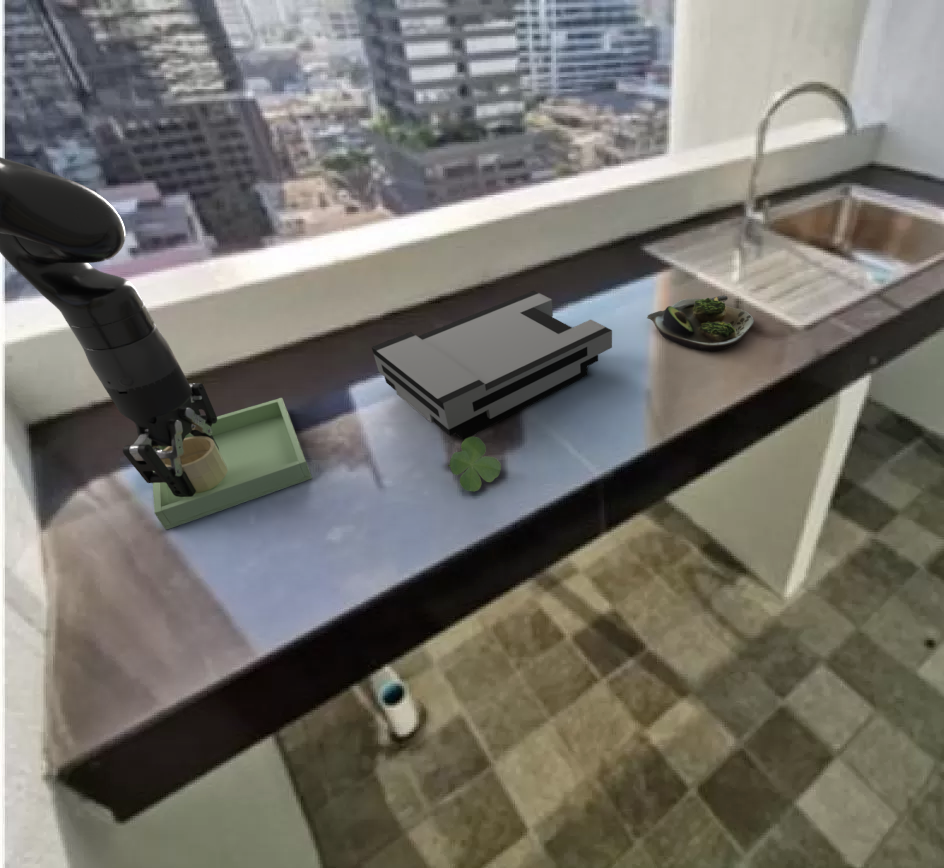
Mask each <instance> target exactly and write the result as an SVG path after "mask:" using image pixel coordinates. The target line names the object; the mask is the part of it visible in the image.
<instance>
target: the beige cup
mask: <svg viewBox="0 0 944 868" xmlns="http://www.w3.org/2000/svg"><path fill="white" fill-rule="evenodd" d="M183 449H184V455H183V456H182V457H181V463H182V470H183V471H185V473H186V475H187V476H188V478H189V480H190V481H191V483H192V485H193V486H194V488H195V490H196V492H195V494H196V493H201V492H205V491H207V490H210V489H212V488H214V487H215V486H217V485H218V484H219V483H220V482H221V481H222V480H223V478H224V477H225V476H226V474H227V471H228V469H227V465H226V463H225V461H224V459H223V457H222V455H221V454H220V452H219V450H218V448H217V446H216V444H215V442H214V440H212V439H211V438H209V437H206V436H193V437H188V438H184V440H183ZM163 451H172V446H168V447H167V448H165V449H164V450H163ZM165 464H166V467H171V461H170V459H168V458H165Z"/></svg>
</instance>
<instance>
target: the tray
mask: <svg viewBox="0 0 944 868" xmlns="http://www.w3.org/2000/svg"><path fill="white" fill-rule="evenodd" d="M211 427H212V429H213V434H212V436H213V438H214V440H215V442H216V444H217V446H218V448H219V451H220V453H221V455H222V457H223V459H224V461H225V463H226V465H227V469H228V471H227V474H226V476H225V477H224V478H223V480H222V481H221V482H220V483H219V484H218V485H217V486H215V487H214V488H212V489H210V490H207V491H205V492H201V493H196V494H194V495H193V496H192V497H178V496H175V495H173V493H172V491H171V490H170V488H169V487H168V485H167V483H152V494H153V495H152V497H153V510H154V511H153V513H154V515H155V516H156V518H157V519H158V521H159V522H160V523H161V525H162V527H163V528H164V530H165V531H168V530H170V529H173V528H176V527H178V526H182V525H185V524H188V523H190V522H193V521H197V520H198V519H201V518H204V517H207V516H211V515H213V514H216V513H219V512H221V511H224V510H227V509H230V508H233V507H235V506H238V505H242V504H244V503H247V502H250V501H252V500H253V501H254V500H255V499H258V498H262V497H264V496H268V495H270V494H273V493H275V492H279V491H281V490H283V489H287V488H289V487H292V486H295V485H298V484H301V483H304V482H306V481H309V480H312V479H313V476H312V473H311V471H310V470H311V469H310V468H309V465H308V462H307V460H306V457H305V454H304V452H303V448H302V446H301V443H300V441H299V438H298V435H297V433H296V430H295V427H294V424H293V421H292V419H291V416H290V414H289V411H288V409H287V405H286V404H285V402H284V399H283V397H279V398H277V399H272V400H269V401H264V402H262V403H259V404H256V405H252V406H248V407H245V408H242V409H238V410H234V411H231V412H228V413H225V414H222V415H221V414H220V415H218V416H217V422H216V423H215V424H212V426H211ZM188 437H193V436H190V435H189V434H188V435H186V436H185V438H188ZM159 448H160V449H161V450H162V451H163V450H164V449H165V448H167V447H162V446H159ZM153 472H155V471H153Z"/></svg>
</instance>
